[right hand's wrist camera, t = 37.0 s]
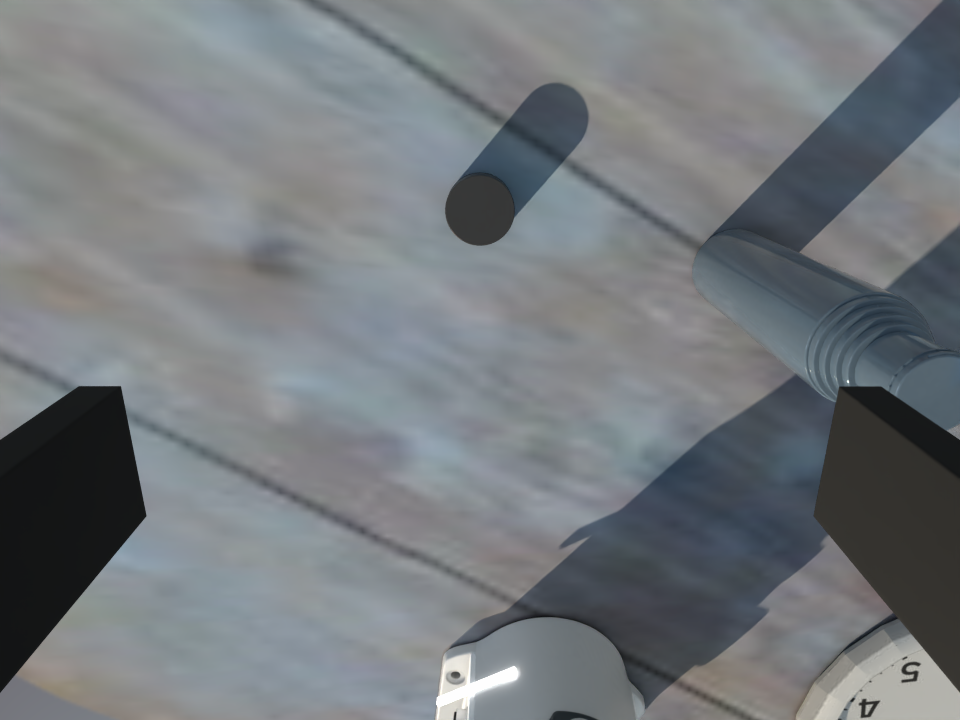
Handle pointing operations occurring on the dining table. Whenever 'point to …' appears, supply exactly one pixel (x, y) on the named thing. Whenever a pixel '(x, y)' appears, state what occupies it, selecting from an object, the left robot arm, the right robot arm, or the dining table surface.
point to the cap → (479, 209)
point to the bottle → (828, 323)
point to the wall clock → (882, 682)
